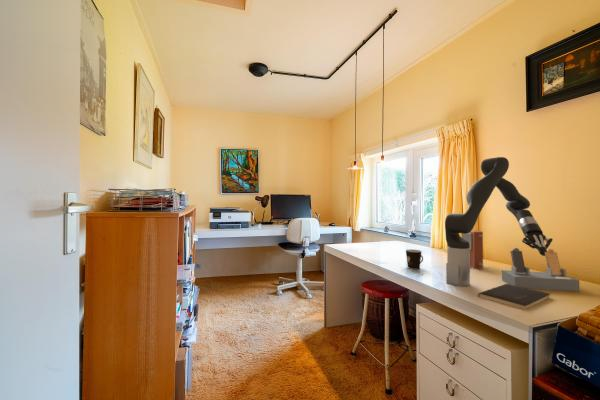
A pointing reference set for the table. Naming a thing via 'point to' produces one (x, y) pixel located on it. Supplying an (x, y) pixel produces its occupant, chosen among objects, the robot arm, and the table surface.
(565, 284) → the lever console
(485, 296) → the hardcover book
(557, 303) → the table surface
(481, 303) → the table surface
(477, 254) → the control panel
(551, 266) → the copper lever
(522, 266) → the black lever
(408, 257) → the coffee mug
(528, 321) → the table surface
